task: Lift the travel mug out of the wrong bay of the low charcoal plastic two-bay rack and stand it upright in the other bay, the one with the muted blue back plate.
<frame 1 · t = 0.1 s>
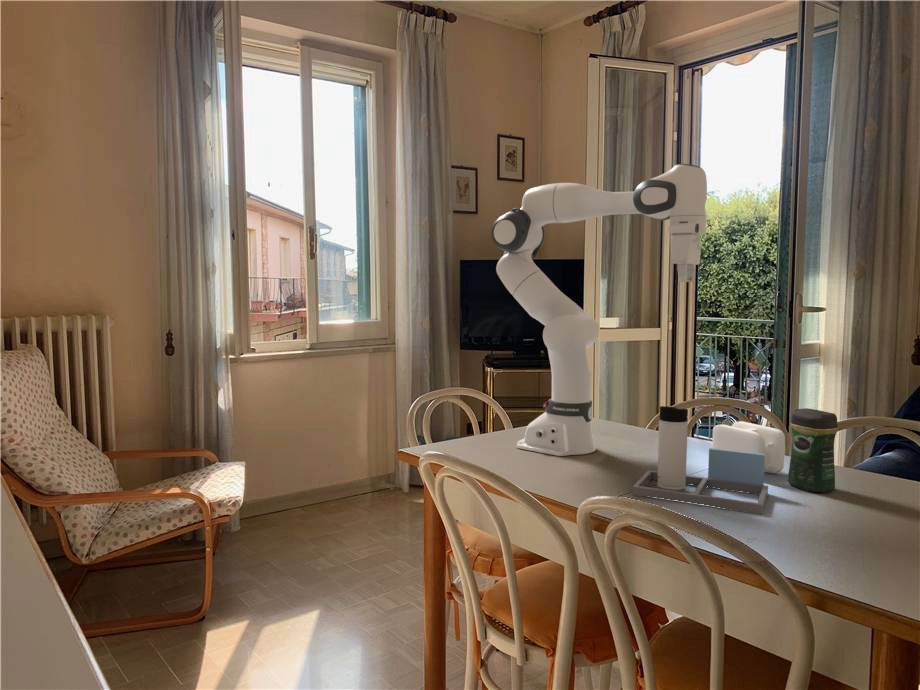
hand: (685, 282, 179), 48 cm above the table, tool pointing down, fingers open, 8 cm apart
rack: (700, 494, 157), on the table
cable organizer: (745, 471, 176), on the table
coffee jar: (810, 488, 162), on the table
travel mug: (670, 491, 160), resting in rack
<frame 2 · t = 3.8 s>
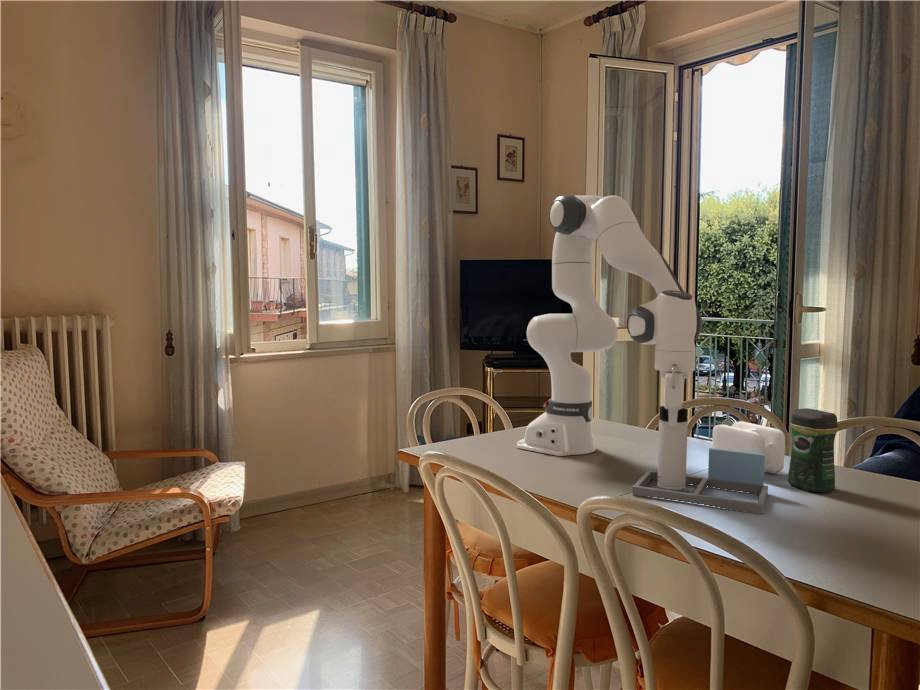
hand: (672, 422, 158), 16 cm above the table, tool pointing down, fingers closed on travel mug, 6 cm apart
travel mug: (670, 491, 160), resting in rack, touching gripper
everything else where it was.
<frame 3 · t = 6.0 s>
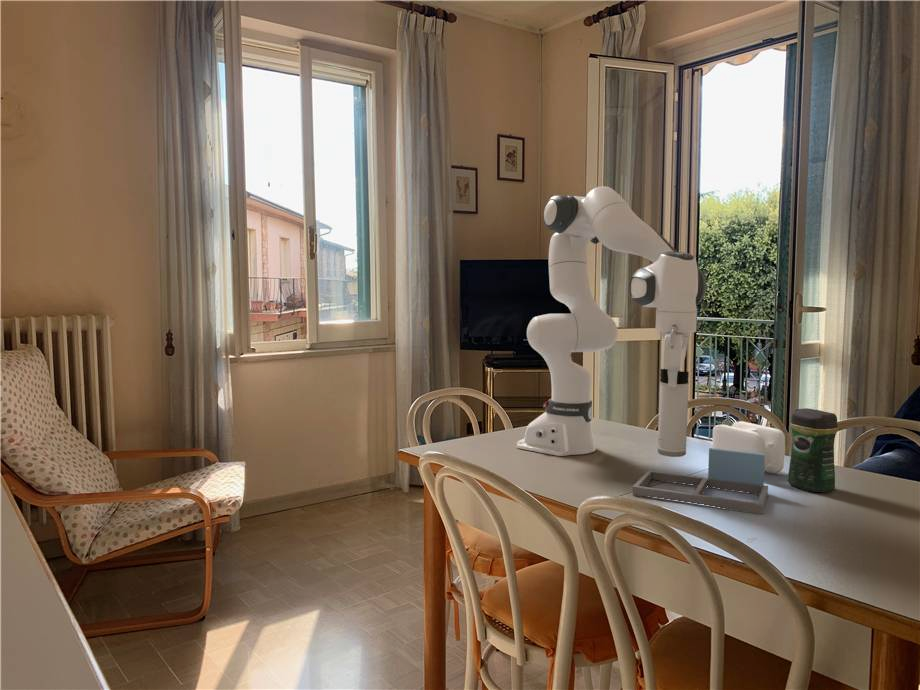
hand: (673, 384, 158), 25 cm above the table, tool pointing down, fingers closed on travel mug, 6 cm apart
travel mug: (671, 454, 159), point 9 cm above the table, touching gripper
everything else where it was.
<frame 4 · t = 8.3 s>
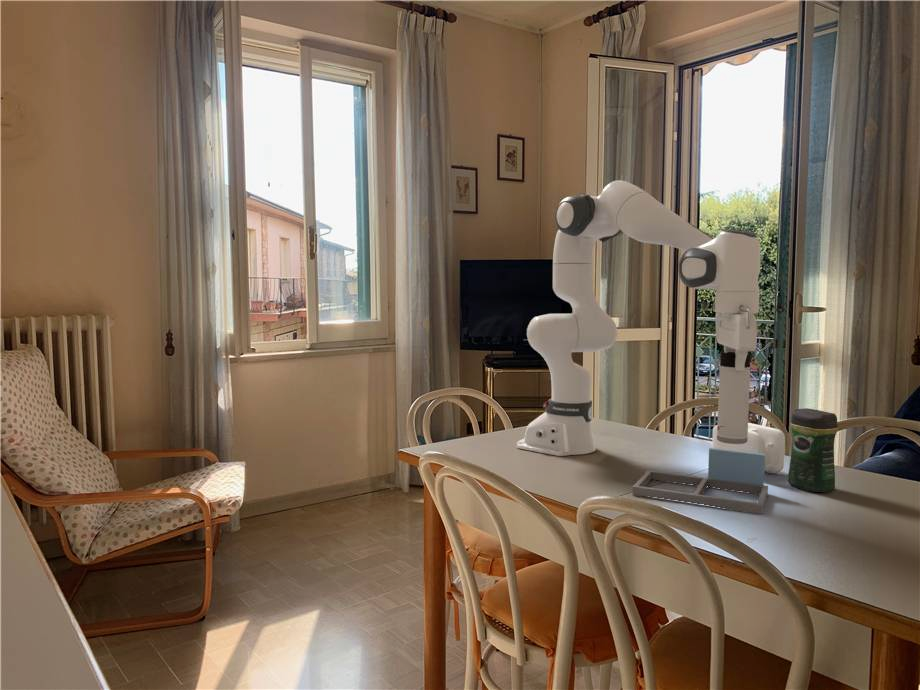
hand: (734, 368, 151), 29 cm above the table, tool pointing down, fingers closed on travel mug, 6 cm apart
travel mug: (731, 442, 152), point 13 cm above the table, touching gripper
everything else where it was.
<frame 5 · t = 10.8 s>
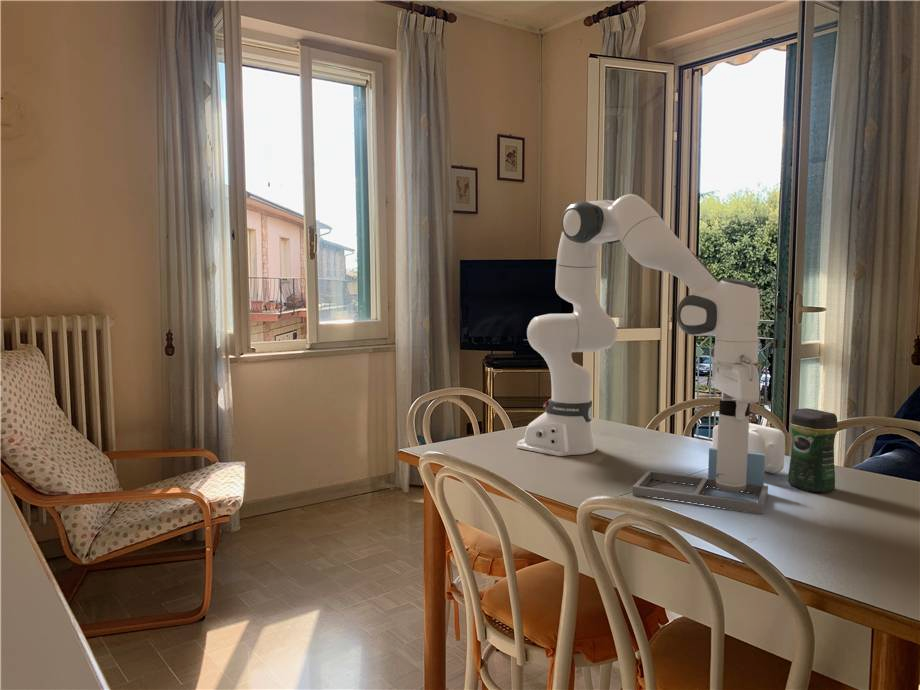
hand: (733, 415, 152), 19 cm above the table, tool pointing down, fingers closed on travel mug, 6 cm apart
travel mug: (730, 488, 153), point 2 cm above the table, touching gripper
everything else where it was.
when the fingers open (16 cm above the table, at t = 13.0 s): travel mug stays where it is, resting in rack.
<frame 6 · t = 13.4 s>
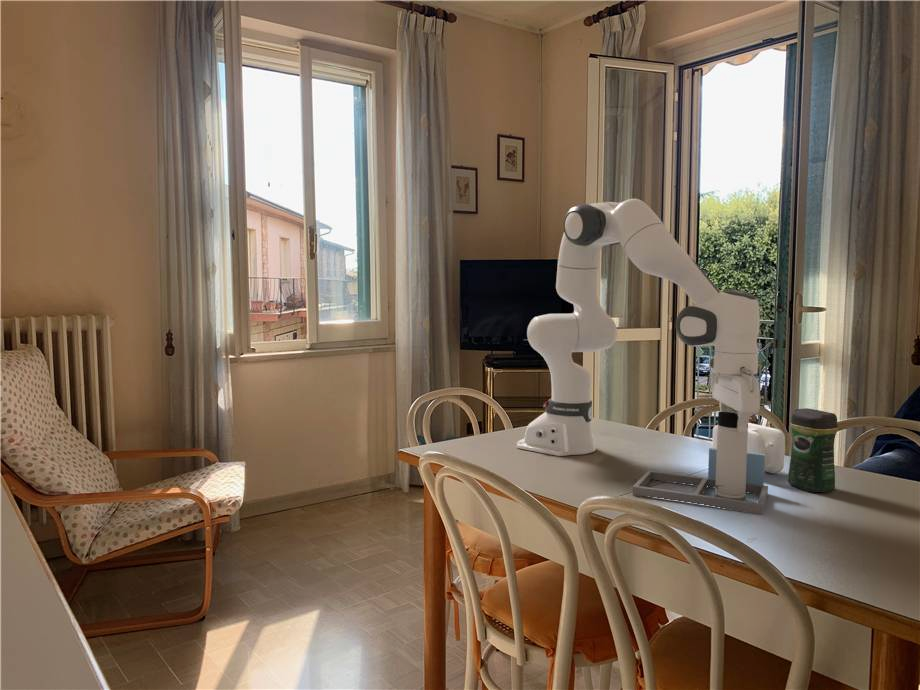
hand: (733, 426, 152), 16 cm above the table, tool pointing down, fingers open, 8 cm apart
travel mug: (729, 500, 154), resting in rack
everything else where it was.
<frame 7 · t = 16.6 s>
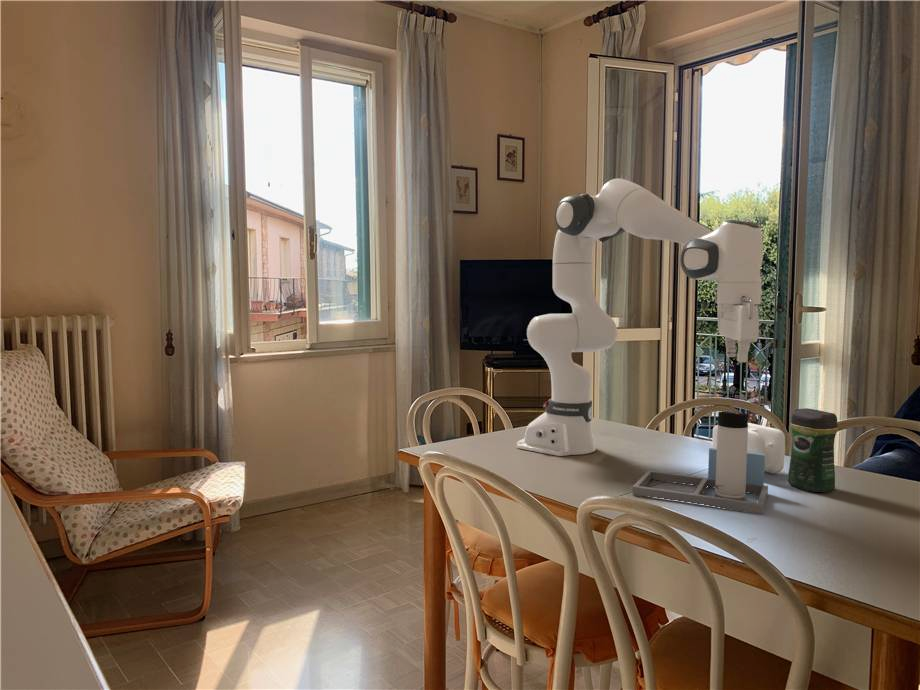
hand: (736, 359, 151), 31 cm above the table, tool pointing down, fingers open, 8 cm apart
nothing on the table moved.
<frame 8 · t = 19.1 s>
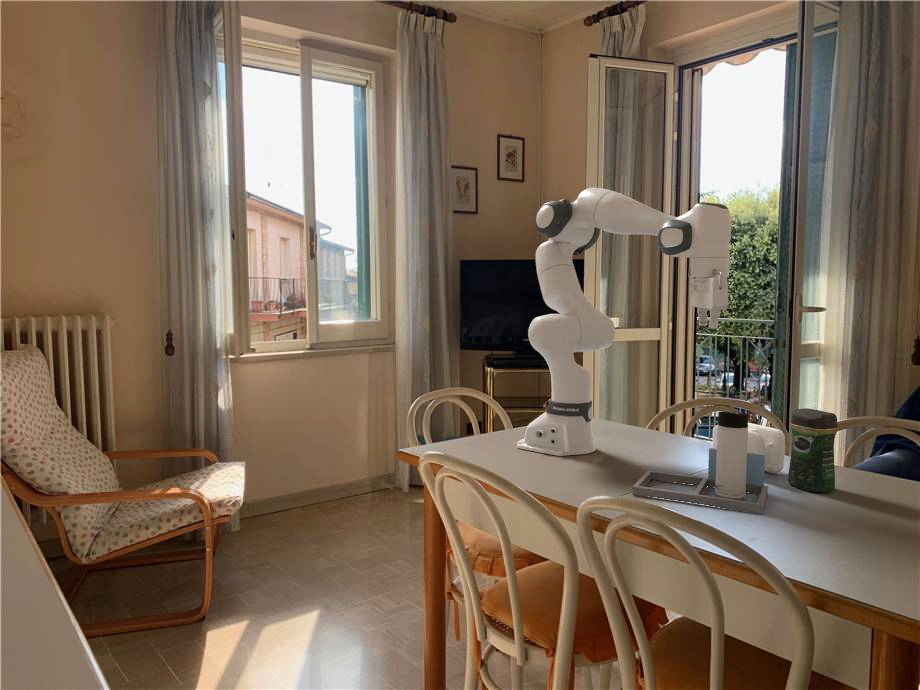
hand: (707, 327, 168), 37 cm above the table, tool pointing down, fingers open, 8 cm apart
nothing on the table moved.
at the end: travel mug inside the target area on the rack (0.2 cm from its centre), point 0.0 cm above the rack's base; travel mug tilted 0°; the gripper is holding nothing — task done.
